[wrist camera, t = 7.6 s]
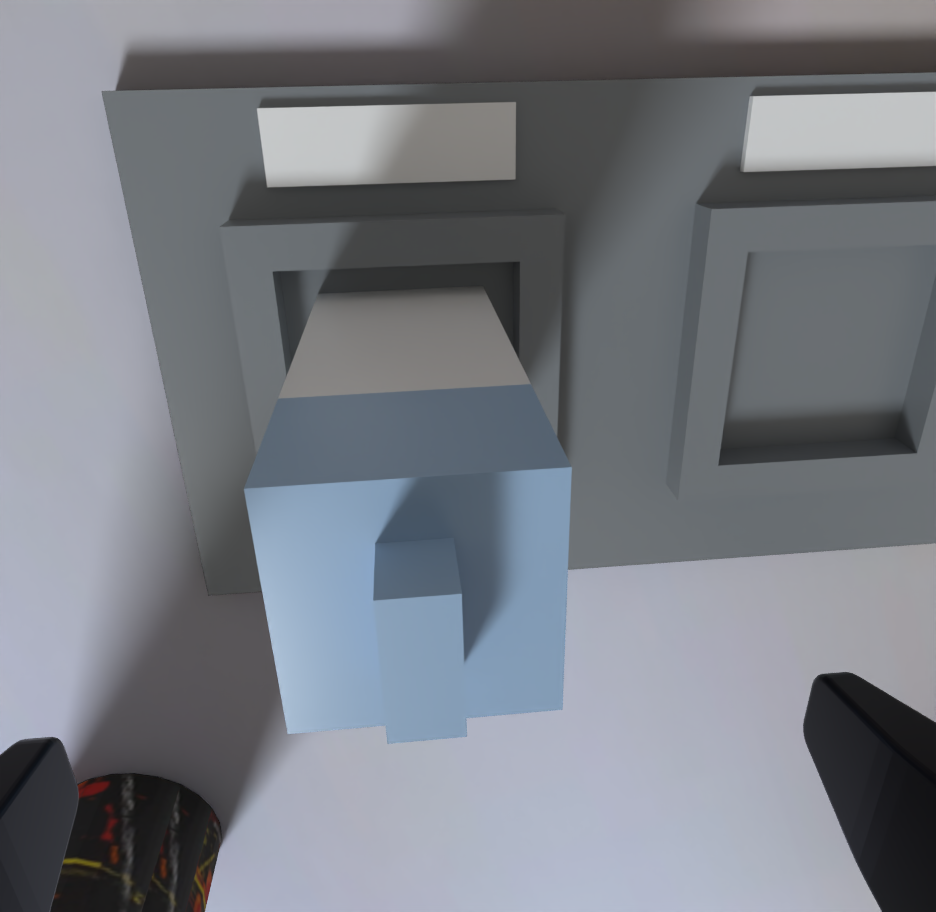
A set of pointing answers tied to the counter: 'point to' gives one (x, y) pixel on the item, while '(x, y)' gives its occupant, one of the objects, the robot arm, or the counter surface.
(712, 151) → the panel
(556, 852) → the counter surface
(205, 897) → the deodorant
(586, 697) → the counter surface
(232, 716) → the counter surface
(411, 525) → the plug
